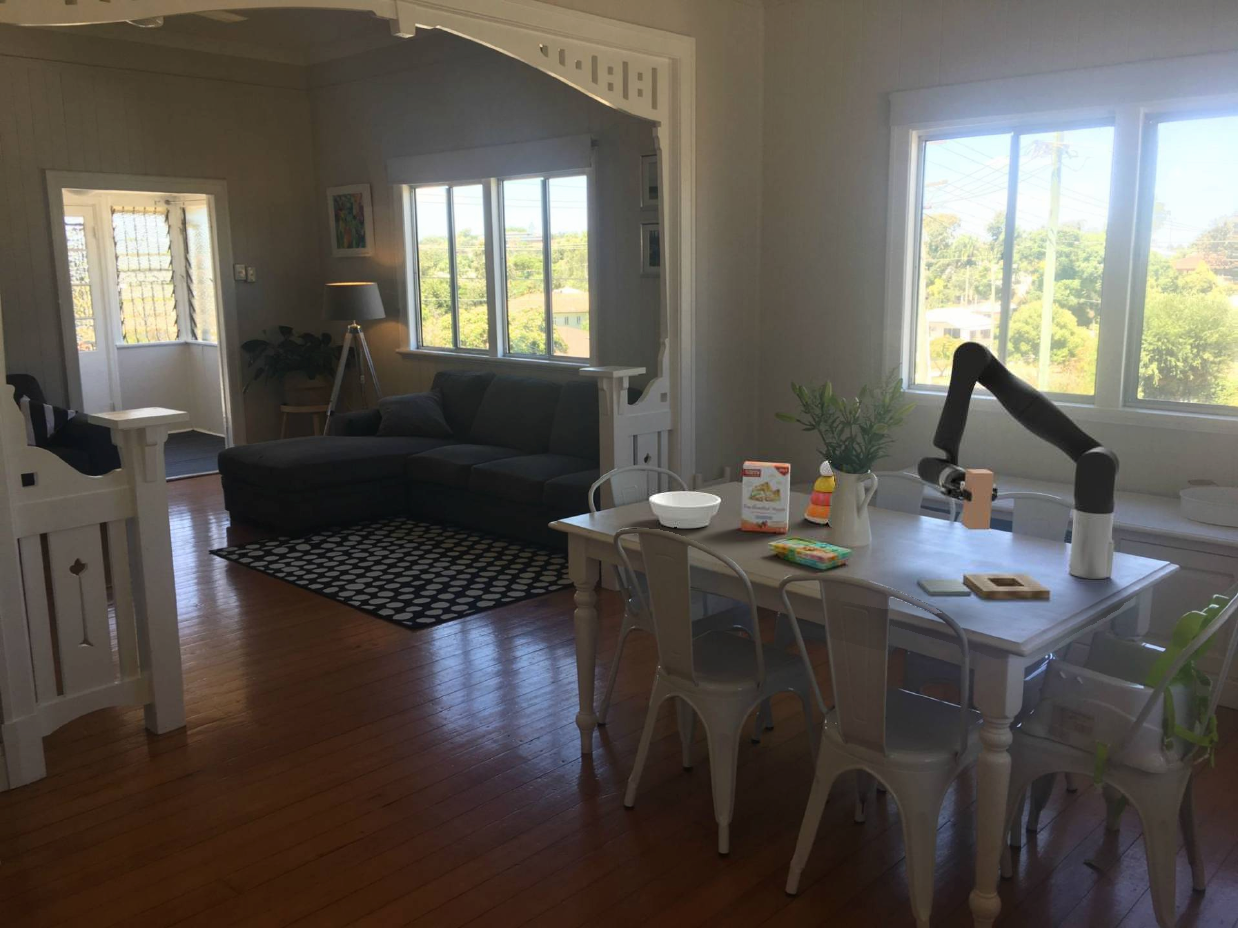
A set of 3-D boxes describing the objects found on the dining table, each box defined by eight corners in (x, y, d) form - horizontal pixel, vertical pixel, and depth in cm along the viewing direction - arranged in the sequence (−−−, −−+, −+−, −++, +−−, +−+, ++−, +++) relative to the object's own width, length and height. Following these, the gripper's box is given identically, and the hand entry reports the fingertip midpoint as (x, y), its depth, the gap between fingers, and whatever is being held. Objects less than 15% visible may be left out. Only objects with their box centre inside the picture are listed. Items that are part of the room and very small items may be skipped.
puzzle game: (824, 555, 264) (767, 540, 279) (823, 572, 265) (766, 556, 280) (852, 547, 272) (794, 533, 287) (851, 564, 273) (794, 549, 288)
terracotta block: (982, 524, 250) (986, 469, 247) (989, 529, 245) (993, 473, 242) (962, 524, 250) (965, 469, 247) (969, 529, 245) (973, 473, 242)
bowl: (717, 516, 327) (718, 491, 325) (723, 533, 305) (723, 506, 303) (648, 516, 327) (648, 491, 326) (648, 533, 305) (649, 506, 304)
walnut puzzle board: (1025, 581, 256) (1026, 573, 256) (1049, 598, 243) (1050, 590, 242) (963, 581, 256) (963, 574, 256) (983, 598, 242) (984, 590, 242)
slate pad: (956, 582, 255) (956, 579, 255) (970, 595, 245) (971, 591, 245) (917, 583, 255) (917, 579, 255) (930, 595, 245) (930, 591, 245)
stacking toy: (838, 514, 329) (841, 456, 325) (858, 525, 315) (860, 464, 312) (797, 517, 326) (799, 457, 322) (815, 527, 312) (817, 465, 309)
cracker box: (740, 531, 307) (742, 464, 303) (743, 526, 313) (744, 460, 309) (787, 534, 304) (789, 466, 300) (788, 529, 310) (790, 462, 306)
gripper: (931, 468, 259) (953, 482, 242) (986, 468, 259) (1012, 482, 242) (929, 497, 260) (951, 512, 244) (984, 497, 261) (1010, 512, 244)
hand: (981, 497), depth 243 cm, fingers closed on terracotta block, 5 cm apart
